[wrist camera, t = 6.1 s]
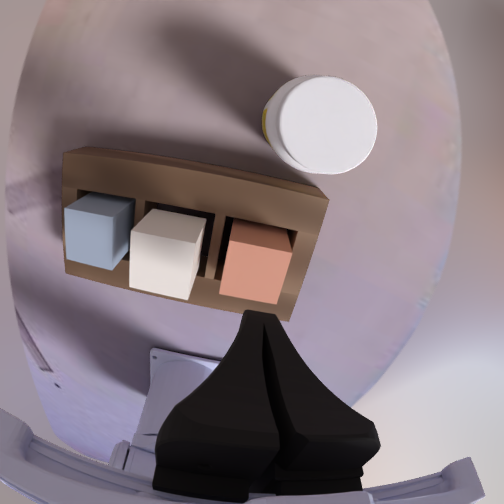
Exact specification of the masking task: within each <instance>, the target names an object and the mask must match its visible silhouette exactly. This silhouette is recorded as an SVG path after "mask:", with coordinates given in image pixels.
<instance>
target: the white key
mask: <svg viewBox="0 0 504 504" xmlns="http://www.w3.org/2000/svg"><path fill="white" fill-rule="evenodd" d="M205 225H206V219H205V218H200V217H195V216H189V215H184V214H179V213H174V212H169V211H163V210H158V209H152V210H151V211H150V212H149V213H148V214H147V215H146V216H145V217H144V218H143V219H142V220H141V221H140V222H139V223H138V224H137V225H136V226H135V227H134V228H133V229H132V230H131V239H130V269H129V287H131V288H135V289H140V290H144V291H148V292H153V293H157V294H161V295H166V296H170V297H175V298H180V299H184V300H188V298H189V295H190V292H191V289H192V286H193V283H194V280H195V277H196V274H197V271H198V268H199V262H200V255H201V249H202V243H203V237H204V231H205Z"/></svg>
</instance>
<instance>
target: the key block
mask: <svg viewBox="0 0 504 504" xmlns="http://www.w3.org/2000/svg"><path fill="white" fill-rule="evenodd" d="M91 192H100V193H106V194H112V195H117V196H123V197H129V198H135V199H136V205H135V217H134V227H135V226H136V225H137V224H138V223H139V222H140V221H141V220H142V219H143V218H144V217H145V216H146V215H147V214H148V213H149V212H150V211H151V210H152V209H157V203H162V204H168V205H173V206H179V207H184V208H189V209H194V210H199V211H205V212H210V213H215V214H216V215H215V220H214V226H213V231H212V237H211V243H210V248H209V254H208V256H203V255H200V262H199V268H198V271H197V274H196V277H195V280H194V283H193V286H192V289H191V292H190V295H189V298H188V300H184V299H180V298H175V297H170V296H166V295H161V294H157V293H153V292H148V291H144V290H140V289H135V288H131V287H129V269H130V249H129V251H128V252H127V253H126V254H125V255H124V257H123V258H122V259H121V260H120V261H119V263H118V264H117V265H116V266H115V268H114V269H113V270H108V269H104V268H100V267H96V266H92V265H88V264H84V263H80V262H76V261H72V260H69V259H67V257H66V242H65V216H64V208H65V207H67V206H69V205H70V204H72V203H74V202H75V201H77V200H79V199H80V198H82V197H84V196H86V195H87V194H89V193H91ZM328 203H329V199H328V198H327V197H326V196H325V194H324V193H323V192H322V191H321V190H320V189H319V188H316V187H312V186H308V185H304V184H300V183H296V182H292V181H288V180H283V179H279V178H275V177H270V176H266V175H261V174H257V173H252V172H247V171H242V170H238V169H233V168H228V167H222V166H217V165H212V164H206V163H201V162H195V161H190V160H184V159H178V158H171V157H165V156H158V155H151V154H144V153H137V152H130V151H122V150H113V149H104V148H95V147H82V148H78V149H75V150H71V151H67V152H64V153H63V168H62V233H63V250H64V262H65V272H66V273H67V274H70V275H74V276H78V277H81V278H85V279H89V280H92V281H96V282H100V283H104V284H108V285H112V286H115V287H119V288H123V289H128V290H132V291H136V292H140V293H144V294H149V295H153V296H157V297H162V298H166V299H171V300H175V301H180V302H185V303H189V304H194V305H199V306H204V307H209V308H214V309H219V310H224V311H230V312H235V313H241V314H243V312H244V311H245V310H247V309H249V310H254V311H260V312H266V313H272V314H276V315H277V317H278V319H279V320H282V321H288V322H289V320H290V317H291V314H292V312H293V309H294V306H295V303H296V300H297V298H298V295H299V292H300V289H301V286H302V283H303V280H304V278H305V275H306V272H307V269H308V266H309V263H310V260H311V257H312V254H313V251H314V248H315V245H316V242H317V238H318V235H319V232H320V229H321V226H322V223H323V219H324V216H325V213H326V210H327V206H328ZM227 216H230V217H235V218H240V219H244V220H249V221H254V222H259V223H264V224H268V225H273V226H278V227H282V228H287V229H288V232H287V235H288V238H289V242H290V246H291V249H292V257H291V260H290V263H289V266H288V270H287V273H286V276H285V279H284V283H283V286H282V289H281V292H280V295H279V298H278V301H277V304H271V303H265V302H260V301H254V300H249V299H243V298H238V297H233V296H227V295H222V294H219V291H220V285H221V280H222V274H223V269H224V264H225V260H223V259H218V258H219V253H220V248H221V242H222V237H223V232H224V227H225V222H226V217H227Z"/></svg>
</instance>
